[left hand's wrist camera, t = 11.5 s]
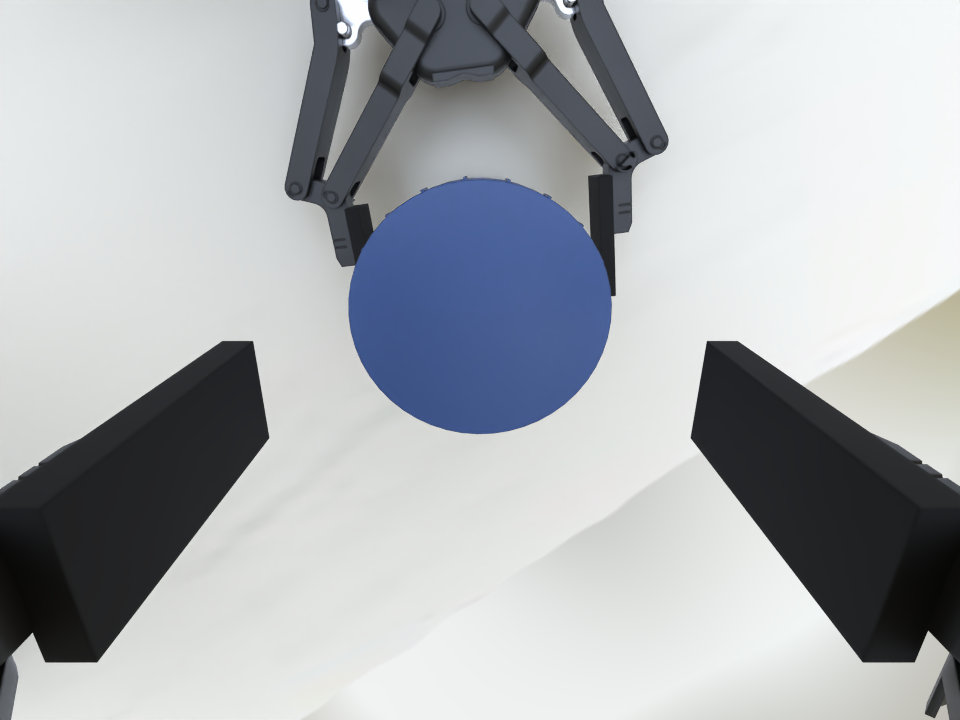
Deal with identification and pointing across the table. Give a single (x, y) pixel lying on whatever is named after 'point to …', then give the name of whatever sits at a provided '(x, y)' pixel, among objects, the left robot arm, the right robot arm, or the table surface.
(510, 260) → the lid
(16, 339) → the table surface
